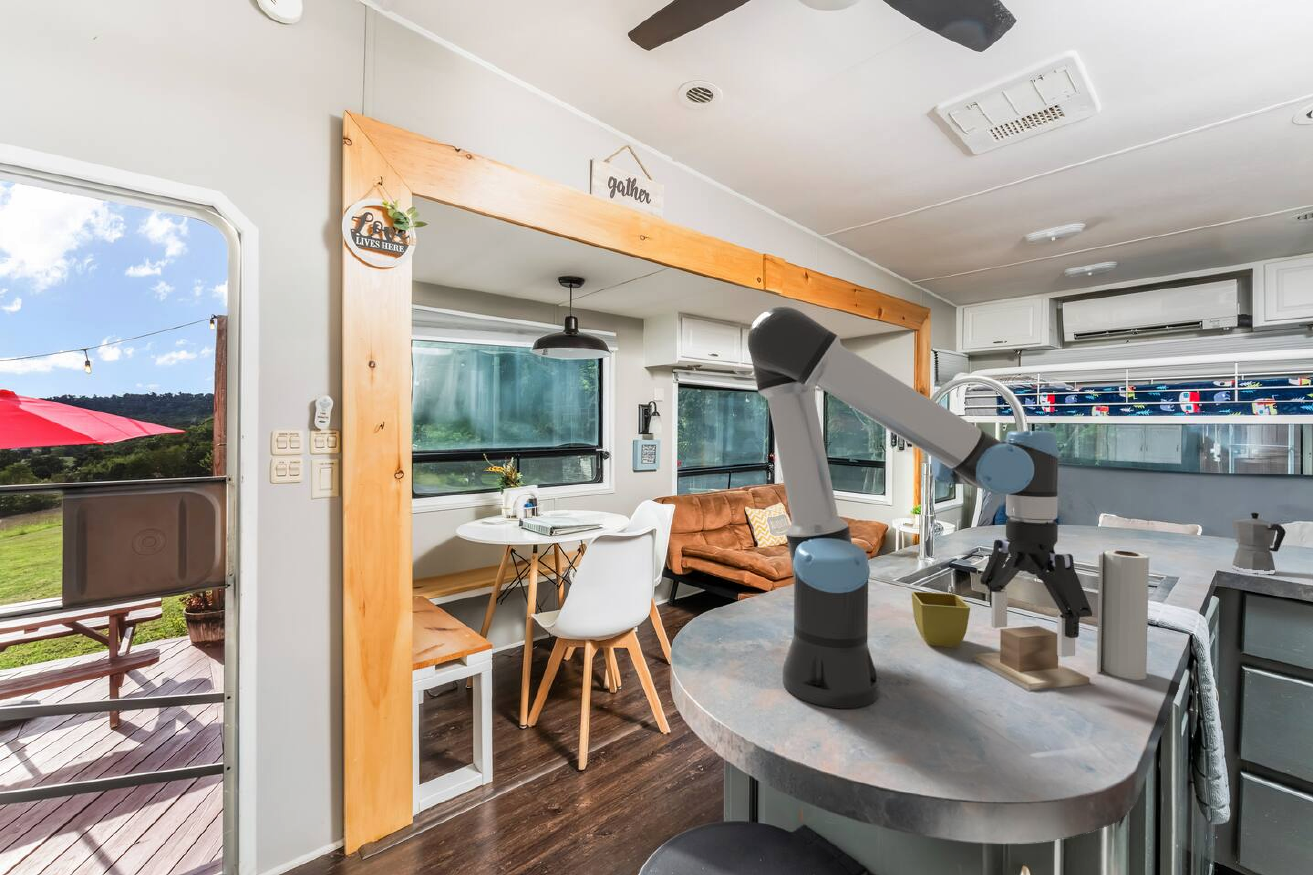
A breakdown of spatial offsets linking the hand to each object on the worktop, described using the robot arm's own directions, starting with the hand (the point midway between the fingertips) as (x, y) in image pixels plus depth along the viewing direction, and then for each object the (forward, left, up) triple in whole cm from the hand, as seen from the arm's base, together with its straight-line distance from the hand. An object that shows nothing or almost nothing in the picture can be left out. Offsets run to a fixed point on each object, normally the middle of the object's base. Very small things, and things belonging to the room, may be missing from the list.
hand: (1030, 640), depth 98 cm
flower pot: (-6, +15, -6) cm, 17 cm away
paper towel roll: (+16, -3, -6) cm, 17 cm away
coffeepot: (+129, +47, -6) cm, 138 cm away
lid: (0, 0, -6) cm, 6 cm away
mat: (0, 0, -6) cm, 6 cm away
